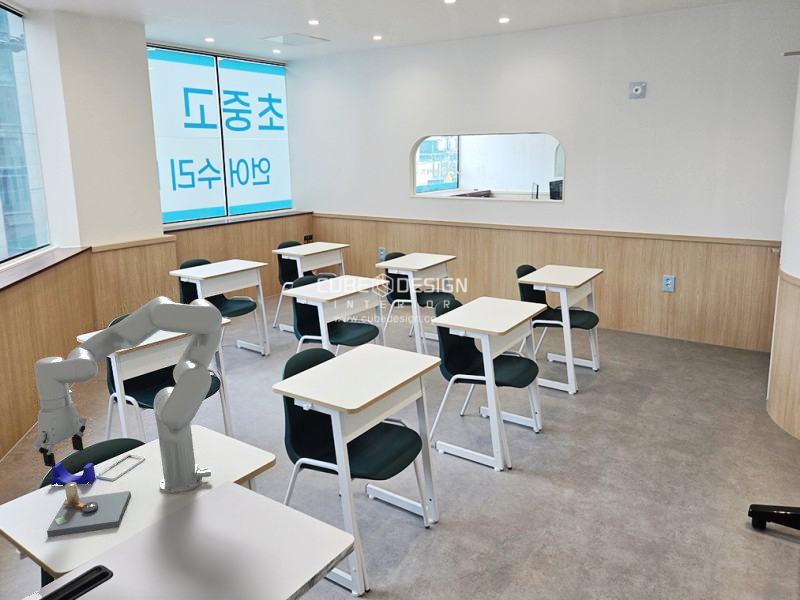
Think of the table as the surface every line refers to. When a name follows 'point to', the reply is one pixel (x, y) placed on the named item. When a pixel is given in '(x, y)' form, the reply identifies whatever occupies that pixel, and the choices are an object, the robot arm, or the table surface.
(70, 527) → the dial panel
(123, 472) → the grey rectangular frame
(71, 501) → the dial lever
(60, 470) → the blue cradle holder
